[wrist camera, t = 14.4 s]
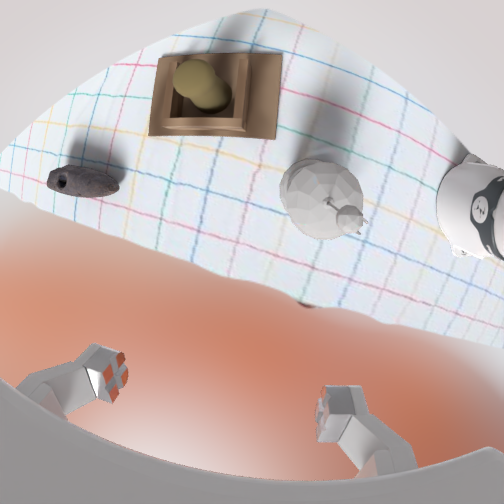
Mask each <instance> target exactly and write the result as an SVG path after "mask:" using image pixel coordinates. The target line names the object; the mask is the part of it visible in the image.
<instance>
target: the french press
mask: <svg viewBox="0 0 504 504" xmlns="http://www.w3.org/2000/svg"><path fill="white" fill-rule="evenodd" d="M280 199H281V201H282V203H283V206H284V208H285V210H286V211H287V212H288V213H289V216H290V218H291V221H292V223H293V224H294V225H295V226H296V227H297V228H298V229H299V230H300V231H301V232H302V233H303V234H305V235H307V236H310V237H312V238H314V239H317V240H332V239H335V238H337V237H340V236H342V235H345V234H346V233H347V234H349V233H357V234H358V235H361V233H360V232H359V231H358V230H359V229H360V228H361V227H362V226H363V221H364V222H365V223H366V224H368V223H369V222H367V221H366V220H365V219H364V218H363V214H362V210H363V193H362V190H361V187H360V185H359V182H358V180H357V179H356V178H355V177H354V176H353V174H352V173H351V172H350V171H349V170H348V169H346V168H344V167H342V166H340V165H338V164H336V163H331V162H322V161H320V160H318V159H305V160H302V161H300V162H297V163H295V164H293V165H292V166H291V167H290V168H289V169H288V170H287V171H286V172H285V173H284V175H283V178H282V180H281V183H280Z"/></svg>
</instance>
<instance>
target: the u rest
mask: <svg viewBox="0 0 504 504" xmlns="http://www.w3.org/2000/svg"><path fill="white" fill-rule="evenodd" d="M190 59H201V60H205V61H206V62H208V63H209V64H210V65H211V66H212V67H213V69H214V71H215V75H216V76H218V77H219V78H221V79H222V80H224V81H225V82H226V83H228V85H229V86H230V87H231V90H232V99H231V101H230V104H229V105H228V106H227V107H226V108H225V109H224V110H223V111H221V112H219V113H216V114H206V113H203V112H201V111H200V110H198V109H197V107H196V106H195V105H194V103H193V102H192V100H191V99H190V98H188V97H185V96H182V95H181V94H180V93H178V92H177V91H176V89H175V88H174V85H173V74H174V72H175V70H176V69H177V68H178V67H179V65H180V64H182V63H183V62H185V61H187V60H190ZM281 65H282V55H275V54H257V53H212V54H194V55H182V56H172V57H164V58H159V60H158V65H157V71H156V77H155V84H154V91H153V98H152V106H151V114H150V124H149V134H148V136H225V137H244V138H258V139H270V140H275V136H276V124H277V113H278V101H279V90H280V78H281Z"/></svg>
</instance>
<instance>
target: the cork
mask: <svg viewBox="0 0 504 504" xmlns="http://www.w3.org/2000/svg"><path fill="white" fill-rule="evenodd" d="M173 85H174V88H175V89H176V91H177V92H178V93H180V94H181V95H182V96H185V97H188V98H190V99H191V100H192V102H193V103H194V105H195V106H196V107H197V109H198V110H200V111H201V112H203V113H206V114H216V113H219V112H221V111H223V110H224V109H225V108H226V107H227V106H228V105H229V104H230V101H231V99H232V90H231V87H230V86H229V85H228V83H226V82H225V81H224V80H222V79H221V78H219V77H218V76H216V75H215V71H214V69H213V67H212V66H211V65H210V64H209V63H208V62H206V61H205V60H201V59H190V60H187V61H185V62H183V63H182V64H180V65H179V67H178V68H177V69H176V70H175V72H174V74H173Z"/></svg>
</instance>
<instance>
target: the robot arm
mask: <svg viewBox="0 0 504 504" xmlns="http://www.w3.org/2000/svg"><path fill="white" fill-rule="evenodd" d="M436 208H437V217H438V222H439V225H440V227H441V230H442V231H443V233H444V235H445V236H446V237H447V239H448V240H449V242H450V246H451V250H452V253H453V255H454V256H456V257H467V256H475V257H478V258H480V259H483V257H490V256H494V257H496V258H497V259H500V260H503V261H504V170H503V169H501V168H497V166H493V165H488V164H487V163H485V162H484V161H483V160H481V159H480V158H478V157H477V156H476V155H474V154H468V155H467V156H466V157H465V159H464V160H463V162H462V163H461V164H460V165H458V166H456V167H454V168H453V169H451V170H450V171H449V172H448V173H447V174H446V176H445V177H444V179H443V180H442V182H441V185H440V188H439V191H438V195H437V205H436ZM462 250H463V251H462ZM124 361H125V356H124V353H122V352H120V351H117V350H114V349H111V348H108V347H105V346H102V345H99V344H96V343H92V344H91V345H90V346H89V347H88V348H87V349H86V350H85V351H84V352H83V353H82V354H81V355H80V356H79V357H78V358H77V359H76V360H75V361H74V362H71V361H70V362H67V363H64V364H61V365H58V366H55V367H51V368H48V369H45V370H42V371H38V372H35V373H31V374H29V375H28V376H27V377H26V378H25V379H24V380H23V381H22V382H21V383H20V384H19V385H18V386H17V387H16V388H13V387H12V386H11V385H10V384H8V383H7V382H5V381H4V380H3V379H1V378H0V504H504V454H503V453H502V452H500V451H498V450H497V449H494V448H492V447H485V448H482V449H479V450H476V451H474V452H471V453H468V454H466V455H463V456H460V457H457V458H454V459H451V460H447V461H444V462H441V463H437V464H434V465H430V466H426V467H422V468H418V466H417V463H416V460H415V456H414V453H413V450H412V447H411V445H410V444H409V443H408V442H406V441H405V440H404V439H403V438H401V437H400V436H399V435H398V434H396V433H395V432H394V431H393V430H391V429H390V428H389V427H388V426H386V425H385V424H384V423H383V422H382V421H380V420H379V419H378V418H377V417H376V416H374V415H373V414H369V411H368V407H367V404H366V400H365V397H364V393H363V390H362V387H361V386H360V385H359V386H332V385H324V386H323V387H322V390H321V398H320V399H318V402H317V404H316V409H315V421H316V422H317V423H318V426H317V428H316V436H317V442H338V444H339V446H340V447H341V448H342V450H343V451H344V452H345V453H346V455H347V456H348V457H349V458H350V459H351V461H352V462H353V463H354V464H355V466H357V468H358V469H359V470H360V471H359V472H358V474H357V475H356V476H355V477H354V478H353V479H344V480H326V481H324V480H323V481H294V480H293V481H292V480H274V479H261V478H251V477H243V476H235V475H229V474H223V473H217V472H212V471H207V470H202V469H197V468H193V467H188V466H184V465H180V464H176V463H172V462H169V461H166V460H162V459H158V458H155V457H152V456H149V455H146V454H143V453H140V452H137V451H134V450H132V449H129V448H126V447H124V446H121V445H118V444H116V443H113V442H111V441H109V440H106V439H104V438H101V437H99V436H97V435H95V434H93V433H90V432H88V431H86V430H84V429H82V428H80V427H78V426H76V425H74V424H72V423H70V422H69V421H68V419H67V418H66V416H65V415H66V414H68V413H70V412H72V411H74V410H76V409H78V408H80V407H82V406H84V405H86V404H87V403H89V402H91V401H93V400H95V399H96V398H98V399H101V400H103V401H106V402H109V403H113V402H114V401H115V399H116V398H117V396H118V395H119V390H118V389H120V388H123V387H124V386H125V384H126V383H127V379H128V369H127V367H126V365H125V364H124V363H123V362H124Z"/></svg>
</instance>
